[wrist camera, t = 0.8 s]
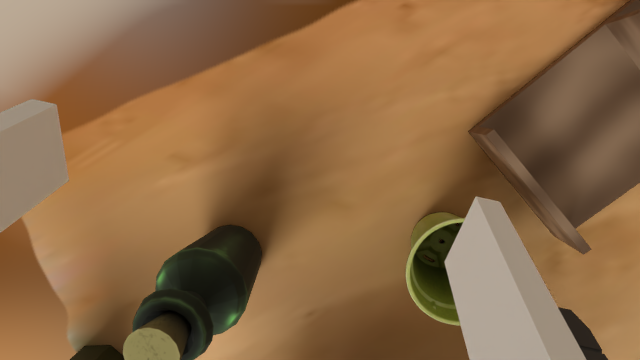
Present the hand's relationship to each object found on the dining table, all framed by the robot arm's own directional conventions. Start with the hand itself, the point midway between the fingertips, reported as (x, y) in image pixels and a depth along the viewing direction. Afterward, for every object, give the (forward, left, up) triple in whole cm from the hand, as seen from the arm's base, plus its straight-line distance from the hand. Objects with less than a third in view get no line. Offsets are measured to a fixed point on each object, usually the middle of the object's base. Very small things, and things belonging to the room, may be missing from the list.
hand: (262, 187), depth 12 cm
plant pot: (-16, -2, -28) cm, 33 cm away
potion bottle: (-3, +16, -28) cm, 32 cm away
